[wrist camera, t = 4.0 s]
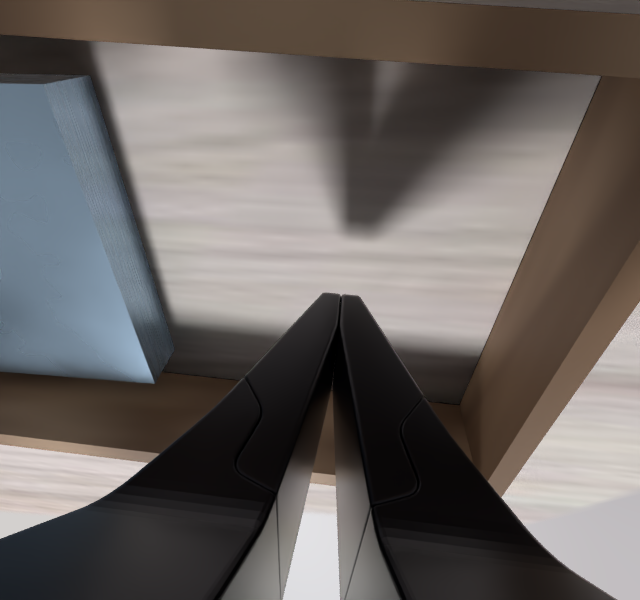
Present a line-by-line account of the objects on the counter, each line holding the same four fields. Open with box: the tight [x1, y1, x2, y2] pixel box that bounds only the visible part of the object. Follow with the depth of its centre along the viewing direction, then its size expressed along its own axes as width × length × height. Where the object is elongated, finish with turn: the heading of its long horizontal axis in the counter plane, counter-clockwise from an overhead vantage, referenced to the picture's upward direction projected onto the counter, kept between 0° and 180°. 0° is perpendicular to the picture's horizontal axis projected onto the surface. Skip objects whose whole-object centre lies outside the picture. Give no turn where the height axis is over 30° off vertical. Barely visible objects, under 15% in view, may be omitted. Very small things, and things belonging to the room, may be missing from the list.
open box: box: [0, 0, 640, 497], centre depth 9 cm, size 19×11×3 cm, turn 87°
